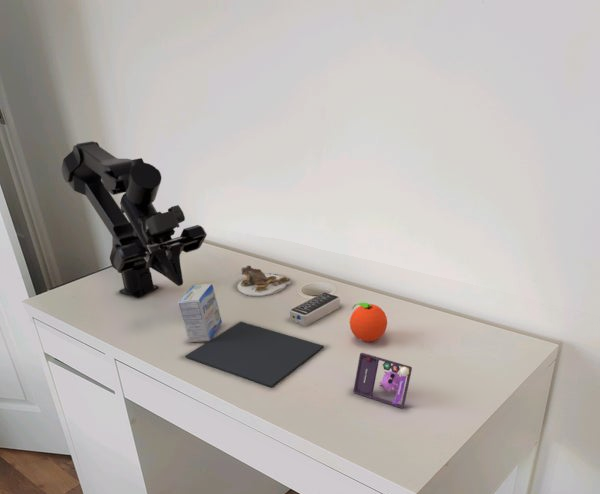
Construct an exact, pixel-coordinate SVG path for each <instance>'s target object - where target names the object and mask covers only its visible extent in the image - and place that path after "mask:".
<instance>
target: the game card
mask: <svg viewBox="0 0 600 494" xmlns="http://www.w3.org/2000/svg"><path fill="white" fill-rule="evenodd" d="M380 361H381V362H383V363H382V367H383V370H385V371H384V374H383V377H382V381H381V382H379V387H382V388H383V390H385V391H386V392H388V393H392V392H393V393H394V392H396V394H395V398H394V399H393V401H391V400H387V399H384V398H382V397H378V396H375V395H373V394H374V388H375V383H376V379H377V373H378V368H379V364H380V363H379V362H380ZM390 370H391V371H390ZM412 370H413V367H412V366H409V365H407V364H403V363H400V362H396V361H393V360H390V359H385V358H382V357H379V356H375V355H372V354H368V353H365V352H360V353H359V358H358V362H357V368H356V374H355V378H354V383H353V384H354V385H353V391H352V392H353V393H354V394H357V395H360V396H363V397H366V398H369V399H372V400H375V401H378V402H381V403H384V404H387V405H390V406H394V407H396V408H399V409H403V408H405V405H406V399H407V395H408V390H409V385H410V380H411V376H412ZM400 402H401V403H400Z"/></svg>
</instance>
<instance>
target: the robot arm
mask: <svg viewBox="0 0 600 494" xmlns="http://www.w3.org/2000/svg"><path fill="white" fill-rule="evenodd" d="M61 174H62V177H63V179H64V181H65V182H66V183H68V185H69V186H70V187H71V189H72V190H73V191H74V192H75V193H79V194H81V195H83V196H85V197H86V198H87V199H88V201H89V203H90V204H91V206H92V207H93V209H94V211H95V212H96V213H97V215H98V217H99V218H100V220H101V221H102V223H103V224H104V226H105V227H106V229H107V230H108V232H109V233H110V235H111V237H112V241H111V242H112V243H111V244H112V245H111V246H112V247H111V251H110V254H109V261H110V265H111V267H112V268H113V269H114V270H116V272H117V273H118V274H120V275H121V279H122V283H123V288H121V289H119V294H123V295H126V296H129V297H132V298H136V299H139V298H141V297H144V296H146V295H149V294H150V293H152V292H154V291H156V290H158V289H159V285H156V284H154V280H153V276H152V272H151V269H152V270H154V271H155V272H157V273H158V274H160V275H162V276H163V277H165V278H166V279H168V280H169V281H170V282H172V283H173V284H174V285H176V286H178V287H181V286H183V285H184V279H183V273H182V266H181V254H182V252H184V253H185V254H186V253H187V254H188V253H190V252H195V251H197V250H199V249H200V248H201V247H202V245H203V243H204V241H205V239H206V237H207V236H208V234H207V232H206V230H205V229H204V227H203V226H201V225H200V224H196V225H193V226H189V227H185V228H183V229H182V231H181V233H180V236H177V237H174V238H172V236H174V235H175V232H176V231H175V229H176V228H180V224H181V223H183V222H184V221H186V216H185V214H184V211H183V210H182V208H181V207H180V205H179V204H176V205H172V206H171V207H169V208H167V211H166V212H162V211H158V210H157V209H156V207H155V206H154V202H155V200H156V198H157V195H158V192H159V189H160V185H161V182H162V173H161V171H160V170H159V169H158V168H156V167H155V166H154V165H153V164H150V163H148V162H144V159H143V158H142V157H140V158H135V159H132V158H131V159H130V158H118V157H116V156H114V155H113V154H111V153H110V152H108V151H107V150H106V149H104V148H102V146H100V145H99V143H98V142H97V141H93V140H91V141H85V142H80V143H76V144H75V145H73V147H72V151H70V152H69V153H68V154H67V155H66V156H65V157H64V158H63V159H62V163H61ZM119 194H122V196H121V198H120V202H119V204H120V206H119V204H118V203H117V202H116V200H115V198H114V197H113V196H114V195H119Z"/></svg>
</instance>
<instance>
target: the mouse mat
mask: <svg viewBox="0 0 600 494" xmlns="http://www.w3.org/2000/svg"><path fill="white" fill-rule="evenodd" d="M324 347H325V346H324V344H323V345H322V344H319V343H316V342H313V341H309V340H306V339H302V338H299V337H296V336H291V335H288V334H285V333H281V332H279V331H274V330H271V329H268V328H264V327H261V326H257V325H254V324H251V323H248V322H244V321H239V322H238V323H236V324H235V325H233V326H231V327H229V328H228V329H226V330H225V331H222V332H221V333H220V334H218V335H216V336H215V337H212V339H211V341H206V342H205V343H204V344H202V345H200V346H198V347H197V348H195V349H194V350H192V351H190V352H189V353H187V354H186V355H185V356H184V357H185V358H186V359H188V360H192V361H194V362H197V363H200V364H203V365H205V366H208V367H211V368H214V369H217V370H220V371H222V372H226V373H228V374H231V375H234V376H237V377H240V378H242V379H245V380H248V381H251V382H254V383H257V384H259V385H262V386H265V387H268V388H273V387H275V386H276V385H277V384H278V383H280V382H282V380H283V379H285V378H286V377H287V376H289V375H290V374H291V373H292V372H294V371H295V370H297V369H298V368H299V367H300V366H301V365H303V364H304V363H306V362H307V361H309V360H310V359H311V358H312V357H314V356H315V355H316V354H318V352H320V351H321V350H323V349H324Z"/></svg>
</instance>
